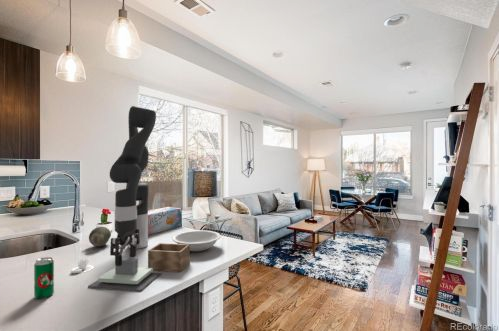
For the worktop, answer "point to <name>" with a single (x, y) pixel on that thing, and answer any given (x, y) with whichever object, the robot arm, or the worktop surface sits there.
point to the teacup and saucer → (82, 266)
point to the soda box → (164, 219)
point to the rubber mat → (127, 287)
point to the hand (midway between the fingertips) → (125, 261)
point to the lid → (126, 273)
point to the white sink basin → (197, 239)
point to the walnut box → (169, 257)
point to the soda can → (43, 278)
